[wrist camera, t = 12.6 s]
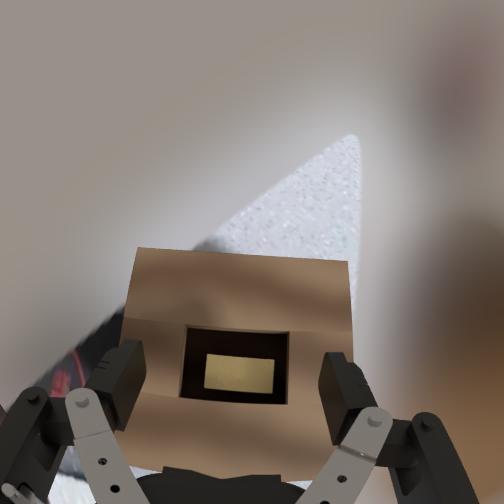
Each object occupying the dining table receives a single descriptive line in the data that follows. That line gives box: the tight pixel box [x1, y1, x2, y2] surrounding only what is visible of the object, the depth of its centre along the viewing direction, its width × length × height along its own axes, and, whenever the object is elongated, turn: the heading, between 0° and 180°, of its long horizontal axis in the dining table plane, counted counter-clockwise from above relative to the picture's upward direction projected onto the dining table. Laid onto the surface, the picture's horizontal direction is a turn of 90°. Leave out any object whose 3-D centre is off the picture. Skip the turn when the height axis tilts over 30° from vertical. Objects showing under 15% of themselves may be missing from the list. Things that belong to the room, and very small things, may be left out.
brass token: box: [204, 354, 274, 393], centre depth 25 cm, size 3×5×10 cm, turn 86°
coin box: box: [114, 247, 353, 482], centre depth 25 cm, size 16×16×14 cm
